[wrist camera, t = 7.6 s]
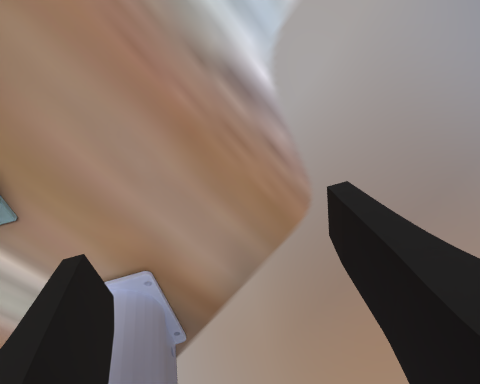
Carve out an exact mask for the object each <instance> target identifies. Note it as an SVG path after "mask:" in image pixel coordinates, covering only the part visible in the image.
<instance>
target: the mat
mask: <svg viewBox="0 0 480 384" xmlns="http://www.w3.org/2000/svg"><path fill="white" fill-rule="evenodd" d="M16 219H17V216H16V214H15V213H14V212H13V211H12V210H11V208H10V207H9V206H8V205H7V203H6V202H5V201H4V200H3V198H2V197H1V196H0V225H1V224H4V223H8V222H12V221H15V220H16Z"/></svg>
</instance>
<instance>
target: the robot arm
mask: <svg viewBox="0 0 480 384" xmlns="http://www.w3.org/2000/svg"><path fill="white" fill-rule="evenodd" d="M327 195H328V196H327V197H328V218H329V236H330V238H331V240H332V243H333V245H334V247H335V249H336V252H337V254H338V256H339V258H340V260H341V263H342V265H343V266H344V268H345V270H346V271H347V273H348V275H349V276H350V278H351V280H352V281H353V283H354V285H355V286H356V288H357V290H358V291H359V293H360V294H361V296H362V298H363V299H364V301H365V303H366V304H367V306H368V307H369V309H370V311H371V312H372V314H373V315H374V317H375V319H376V320H377V322H378V324H379V325H380V327H381V328H382V330H383V332H384V334H385V336H386V337H387V339H388V341H389V343H390V345H391V347H392V349H393V351H394V353H395V355H396V357H397V359H398V361H399V363H400V365H401V367H402V369H403V371H404V373H405V375H406V377H407V380H408V382H409V384H480V259H479V258H477V257H475V256H473V255H471V254H469V253H466V252H464V251H462V250H460V249H458V248H456V247H454V246H452V245H450V244H448V243H446V242H445V241H443V240H441V239H439V238H437V237H435V236H434V235H432V234H430V233H428V232H426V231H425V230H423V229H421V228H419V227H418V226H416V225H414V224H413V223H411V222H409V221H408V220H406V219H405V218H403V217H401V216H400V215H398V214H396V213H395V212H393V211H392V210H390V209H389V208H387V207H385V206H384V205H382V204H381V203H379V202H378V201H376V200H375V199H373V198H372V197H370V196H369V195H367V194H366V193H364V192H363V191H361V190H360V189H358V188H357V187H355V186H354V185H352V184H351V183H349V182H348V181H346V182H342V183H339V184H335V185H332V186H328V187H327ZM147 281H149V282H147ZM185 340H186V334H185V332H184V330H183V328H182V327H181V325H180V323H179V321H178V319H177V318H176V316H175V314H174V312H173V310H172V308H171V307H170V305H169V303H168V301H167V299H166V298H165V296H164V294H163V292H162V290H161V289H160V287H159V285H158V283H157V281H156V279H155V278H154V276H153V274H152V273H151V272H149V271H143V272H139V273H135V274H132V275H128V276H125V277H121V278H118V279H114V280H110V281H107V282H103V280H102V279H101V277H100V276H99V275H98V273H97V272H96V270H95V269H94V267H93V266H92V265H91V263H90V262H89V260H88V259H87V258H86V256H85V255H84V254H82V255H78V256H75V257H71V258H68V259H64V260H62V262H61V263H60V265H59V266H58V267H57V269H56V270H55V272H54V273H53V274H52V276H51V277H50V279H49V280H48V282H47V283H46V285H45V286H44V288H43V289H42V291H41V292H40V294H39V295H38V297H37V298H36V300H35V301H34V303H33V304H32V306H31V307H30V308H29V310H28V311H27V313H26V314H25V316H24V317H23V319H22V320H21V321H20V323H19V324H18V326H17V327H16V329H15V330H14V332H13V333H12V334H11V336H10V337H9V338H8V340H7V341H6V342H5V344H4V345H3V346H2V348H1V349H0V384H177V365H176V345H175V344H178V343H182V342H184V341H185Z"/></svg>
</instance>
